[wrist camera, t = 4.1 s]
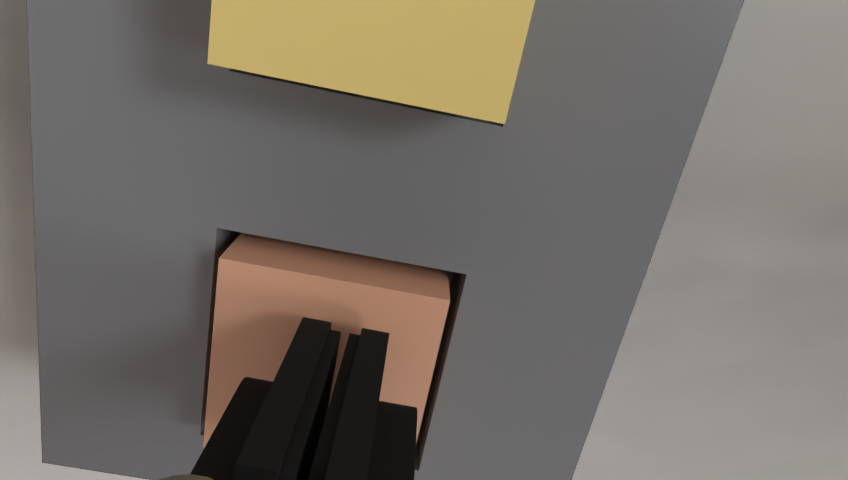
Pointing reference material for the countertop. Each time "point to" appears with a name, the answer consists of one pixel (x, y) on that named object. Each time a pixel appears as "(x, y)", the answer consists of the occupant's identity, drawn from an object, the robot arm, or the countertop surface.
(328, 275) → the terracotta key
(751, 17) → the countertop surface
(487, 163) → the console
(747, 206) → the countertop surface
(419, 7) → the ochre key
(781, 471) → the countertop surface
